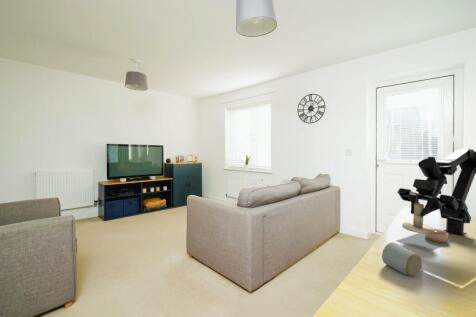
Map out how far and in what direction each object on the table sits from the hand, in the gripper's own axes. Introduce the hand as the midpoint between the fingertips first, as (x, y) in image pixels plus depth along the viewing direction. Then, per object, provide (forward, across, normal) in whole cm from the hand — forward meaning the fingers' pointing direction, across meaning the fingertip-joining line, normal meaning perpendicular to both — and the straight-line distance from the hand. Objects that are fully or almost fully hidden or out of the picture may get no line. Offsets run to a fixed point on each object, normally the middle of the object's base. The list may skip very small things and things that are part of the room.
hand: (416, 214), depth 88 cm
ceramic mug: (+25, +8, -7) cm, 27 cm away
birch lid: (+3, 0, +5) cm, 6 cm away
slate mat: (+4, 0, +13) cm, 14 cm away
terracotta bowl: (0, +1, +17) cm, 17 cm away
